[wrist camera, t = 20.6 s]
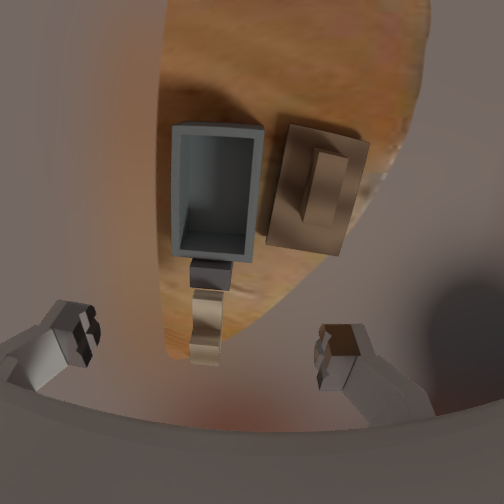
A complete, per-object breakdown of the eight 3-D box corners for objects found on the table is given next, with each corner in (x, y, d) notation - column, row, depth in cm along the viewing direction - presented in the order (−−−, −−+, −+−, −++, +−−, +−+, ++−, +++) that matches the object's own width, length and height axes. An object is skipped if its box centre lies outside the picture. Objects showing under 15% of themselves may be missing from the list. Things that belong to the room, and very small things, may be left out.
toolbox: (186, 121, 38) (169, 126, 31) (263, 125, 38) (265, 131, 31) (183, 255, 47) (170, 285, 40) (250, 261, 47) (249, 292, 40)
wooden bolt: (195, 289, 39) (187, 313, 35) (223, 292, 39) (219, 317, 35) (196, 337, 43) (190, 363, 39) (221, 340, 43) (218, 366, 39)
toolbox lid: (288, 122, 38) (293, 126, 33) (364, 140, 39) (379, 147, 34) (265, 237, 46) (266, 257, 41) (335, 249, 46) (344, 269, 41)
